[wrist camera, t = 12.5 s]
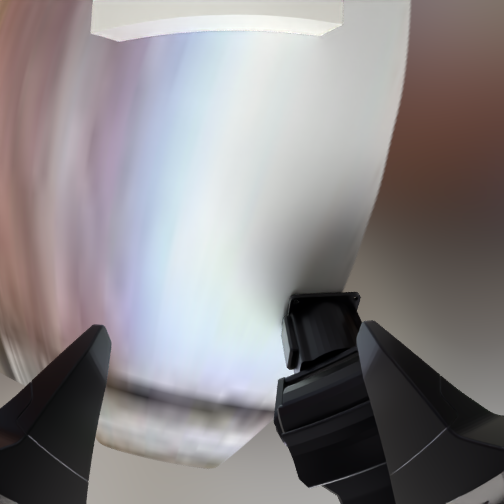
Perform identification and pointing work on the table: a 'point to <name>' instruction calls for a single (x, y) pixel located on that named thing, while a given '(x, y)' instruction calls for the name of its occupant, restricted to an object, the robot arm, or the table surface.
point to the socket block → (212, 17)
